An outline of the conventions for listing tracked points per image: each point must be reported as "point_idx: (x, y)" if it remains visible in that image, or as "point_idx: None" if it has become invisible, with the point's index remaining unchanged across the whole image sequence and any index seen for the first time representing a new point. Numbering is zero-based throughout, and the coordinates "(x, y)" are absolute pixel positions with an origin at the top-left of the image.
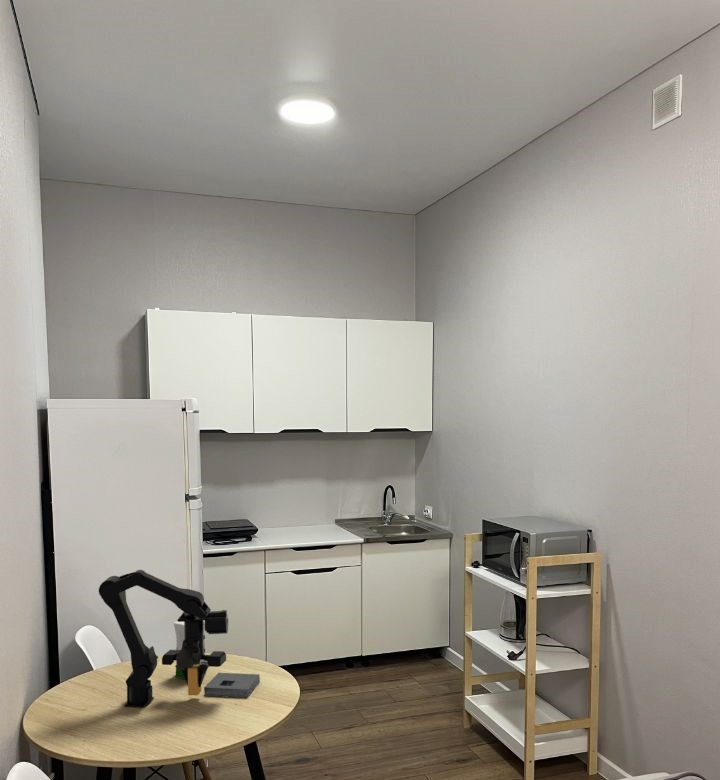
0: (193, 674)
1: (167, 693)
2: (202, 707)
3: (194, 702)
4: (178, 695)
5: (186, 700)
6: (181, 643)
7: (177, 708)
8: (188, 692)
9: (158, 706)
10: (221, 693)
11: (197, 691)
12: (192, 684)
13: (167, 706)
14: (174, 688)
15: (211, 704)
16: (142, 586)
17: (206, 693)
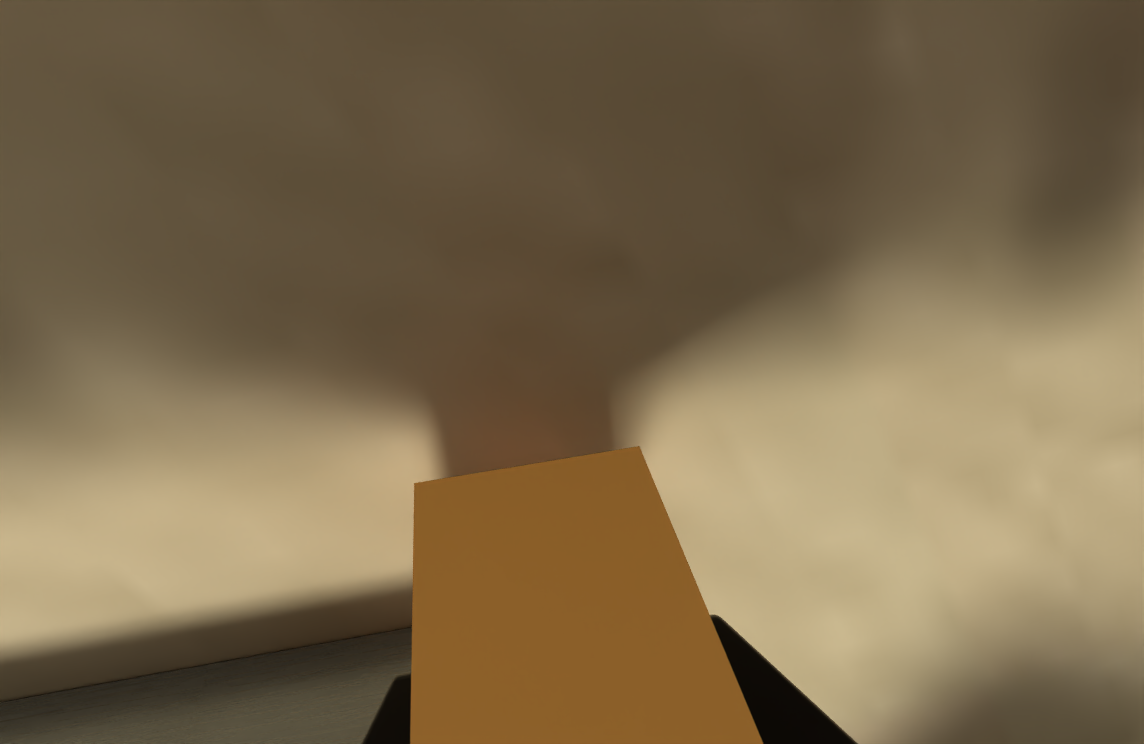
0: None
1: (1069, 523)
2: (116, 203)
3: (460, 371)
4: (877, 516)
5: (661, 402)
6: None
7: (677, 14)
8: (641, 482)
9: (1127, 21)
10: (95, 728)
11: (415, 549)
12: (569, 658)
13: (937, 66)
14: (1005, 662)
15: (32, 384)
16: None
17: (397, 660)
